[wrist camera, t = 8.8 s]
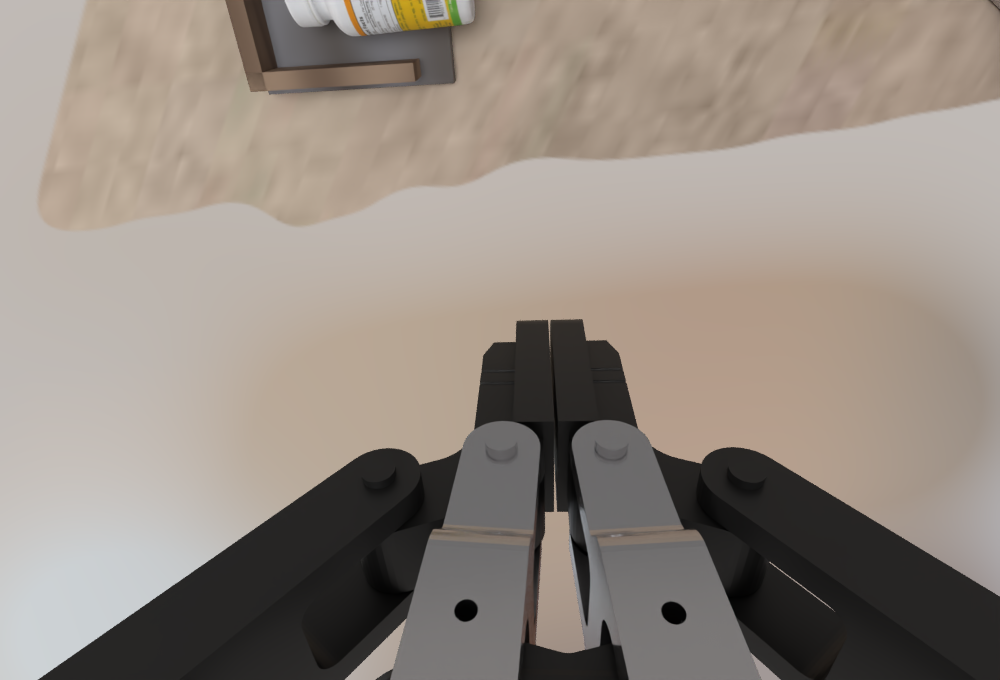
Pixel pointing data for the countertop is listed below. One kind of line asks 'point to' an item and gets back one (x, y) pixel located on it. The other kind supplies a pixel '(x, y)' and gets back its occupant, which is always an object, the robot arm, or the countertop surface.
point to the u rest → (333, 53)
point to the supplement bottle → (381, 14)
